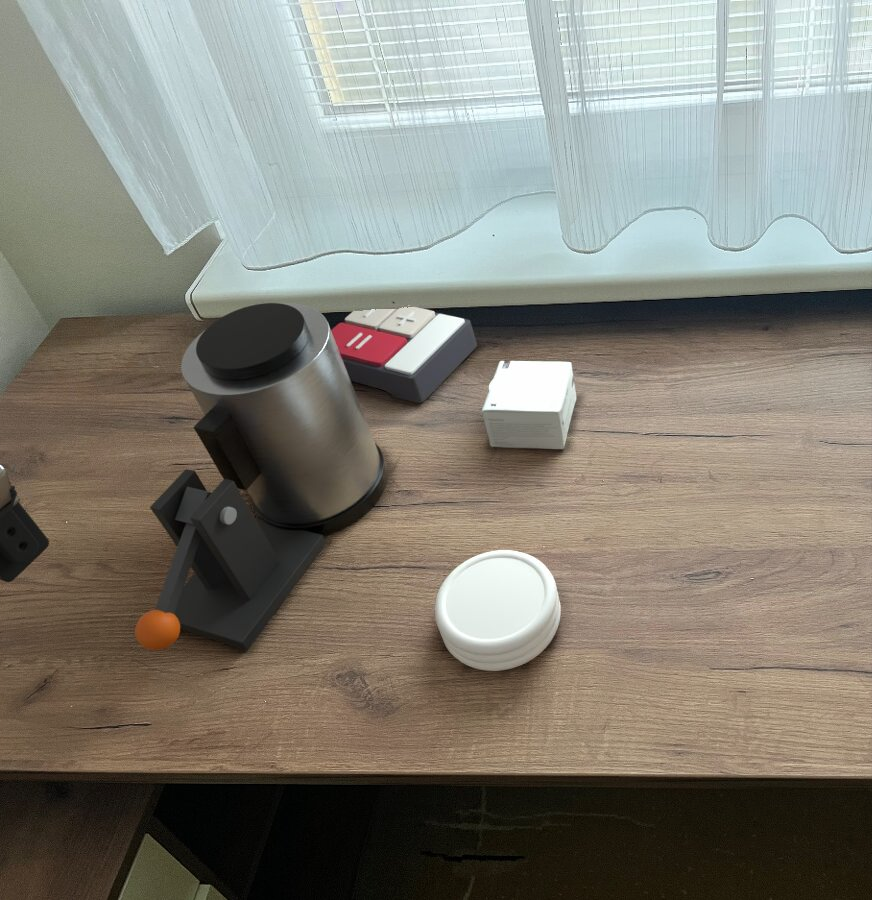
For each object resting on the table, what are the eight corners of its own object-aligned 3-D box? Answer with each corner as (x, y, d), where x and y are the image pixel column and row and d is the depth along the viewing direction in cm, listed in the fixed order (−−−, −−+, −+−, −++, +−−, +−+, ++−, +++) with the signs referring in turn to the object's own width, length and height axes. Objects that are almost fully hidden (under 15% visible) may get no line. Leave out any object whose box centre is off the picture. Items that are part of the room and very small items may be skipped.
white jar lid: (477, 560, 77) (469, 535, 75) (580, 589, 74) (575, 563, 72) (420, 653, 71) (409, 629, 69) (530, 689, 68) (523, 664, 65)
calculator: (368, 292, 103) (469, 313, 97) (379, 322, 106) (479, 345, 100) (305, 346, 97) (409, 373, 90) (319, 376, 100) (421, 404, 93)
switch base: (247, 650, 73) (186, 563, 65) (164, 624, 76) (95, 537, 68) (326, 543, 81) (281, 453, 72) (248, 522, 84) (196, 433, 75)
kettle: (331, 567, 79) (252, 412, 65) (216, 535, 83) (121, 384, 70) (411, 454, 88) (357, 300, 75) (305, 431, 92) (236, 281, 79)
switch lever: (180, 655, 70) (151, 653, 67) (150, 645, 71) (119, 643, 68) (235, 500, 73) (209, 491, 70) (205, 492, 74) (178, 483, 71)
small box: (565, 451, 86) (559, 412, 83) (489, 448, 88) (479, 410, 84) (578, 398, 92) (572, 360, 88) (506, 396, 93) (497, 359, 89)
